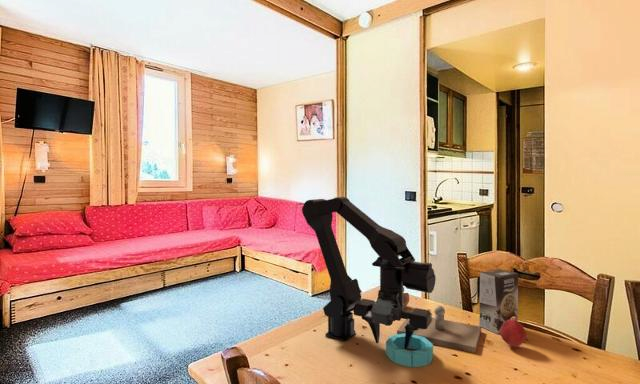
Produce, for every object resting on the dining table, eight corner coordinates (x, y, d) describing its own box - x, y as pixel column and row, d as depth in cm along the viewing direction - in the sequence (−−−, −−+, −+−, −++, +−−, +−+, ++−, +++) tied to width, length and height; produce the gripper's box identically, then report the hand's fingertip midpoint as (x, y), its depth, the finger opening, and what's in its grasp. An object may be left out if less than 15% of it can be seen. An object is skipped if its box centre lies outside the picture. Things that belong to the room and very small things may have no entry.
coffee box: (498, 334, 98) (498, 277, 97) (478, 326, 103) (478, 271, 103) (518, 328, 102) (519, 273, 101) (498, 320, 108) (499, 268, 107)
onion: (501, 350, 89) (502, 319, 88) (498, 340, 94) (499, 311, 94) (528, 354, 87) (528, 322, 86) (523, 344, 92) (523, 314, 92)
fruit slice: (386, 311, 115) (386, 296, 115) (381, 304, 122) (381, 290, 122) (411, 310, 116) (411, 295, 116) (405, 303, 123) (405, 289, 123)
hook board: (396, 335, 97) (396, 307, 97) (411, 318, 110) (411, 293, 109) (475, 353, 87) (475, 321, 87) (481, 331, 99) (481, 304, 99)
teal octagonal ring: (381, 359, 85) (381, 347, 85) (395, 341, 94) (395, 330, 94) (425, 371, 79) (425, 358, 79) (436, 351, 89) (436, 339, 88)
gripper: (344, 288, 86) (344, 350, 87) (420, 301, 77) (420, 371, 77) (362, 277, 96) (362, 333, 96) (432, 287, 86) (432, 349, 87)
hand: (391, 346), depth 89 cm, fingers open, 7 cm apart
